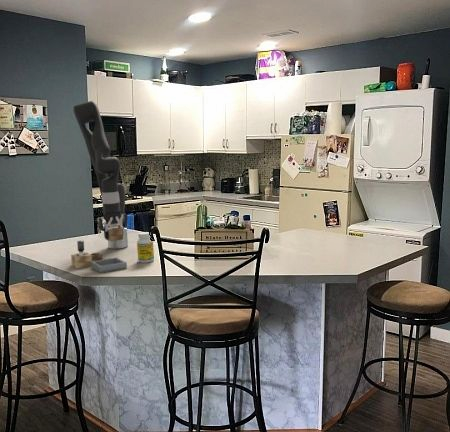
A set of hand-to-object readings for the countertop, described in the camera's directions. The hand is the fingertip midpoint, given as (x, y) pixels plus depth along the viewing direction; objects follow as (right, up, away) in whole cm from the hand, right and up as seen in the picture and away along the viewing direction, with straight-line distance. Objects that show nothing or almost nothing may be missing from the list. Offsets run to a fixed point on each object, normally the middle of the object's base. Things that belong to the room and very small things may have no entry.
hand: (114, 237), depth 229 cm
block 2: (0, -1, 0) cm, 1 cm away
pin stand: (-9, -11, +3) cm, 14 cm away
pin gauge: (-13, -12, -5) cm, 19 cm away
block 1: (-13, -12, -6) cm, 19 cm away
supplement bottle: (+15, -11, 0) cm, 18 cm away
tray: (0, -13, -11) cm, 17 cm away
